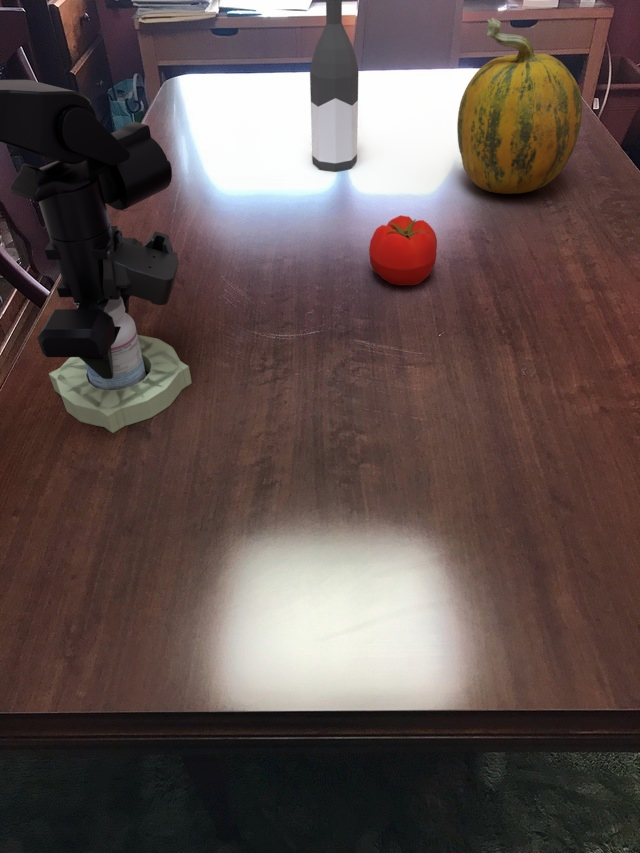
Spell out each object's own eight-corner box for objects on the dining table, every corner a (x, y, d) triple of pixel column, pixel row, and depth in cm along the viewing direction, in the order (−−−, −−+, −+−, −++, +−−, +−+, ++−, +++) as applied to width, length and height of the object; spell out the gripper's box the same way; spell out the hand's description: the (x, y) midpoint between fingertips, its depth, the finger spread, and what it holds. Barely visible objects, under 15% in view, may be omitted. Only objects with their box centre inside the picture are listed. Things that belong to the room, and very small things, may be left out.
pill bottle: (89, 378, 79) (65, 294, 72) (141, 366, 81) (123, 282, 74) (98, 410, 75) (73, 324, 68) (153, 396, 77) (135, 310, 70)
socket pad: (110, 444, 71) (104, 426, 70) (40, 391, 78) (33, 374, 76) (206, 382, 79) (203, 365, 77) (134, 339, 85) (130, 322, 84)
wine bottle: (355, 153, 128) (358, -40, 107) (358, 171, 122) (362, -30, 101) (311, 155, 127) (306, -38, 107) (312, 172, 122) (307, -28, 101)
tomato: (389, 299, 91) (392, 248, 86) (358, 269, 97) (359, 219, 92) (449, 282, 94) (456, 231, 88) (415, 254, 100) (419, 204, 94)
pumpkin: (427, 184, 117) (442, 17, 100) (498, 154, 126) (523, -4, 109) (517, 221, 106) (551, 41, 89) (588, 185, 115) (630, 16, 98)
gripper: (142, 278, 58) (172, 416, 69) (180, 186, 72) (200, 313, 82) (12, 278, 58) (62, 416, 69) (75, 186, 72) (108, 313, 83)
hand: (115, 360), depth 76 cm, fingers closed on pill bottle, 6 cm apart
